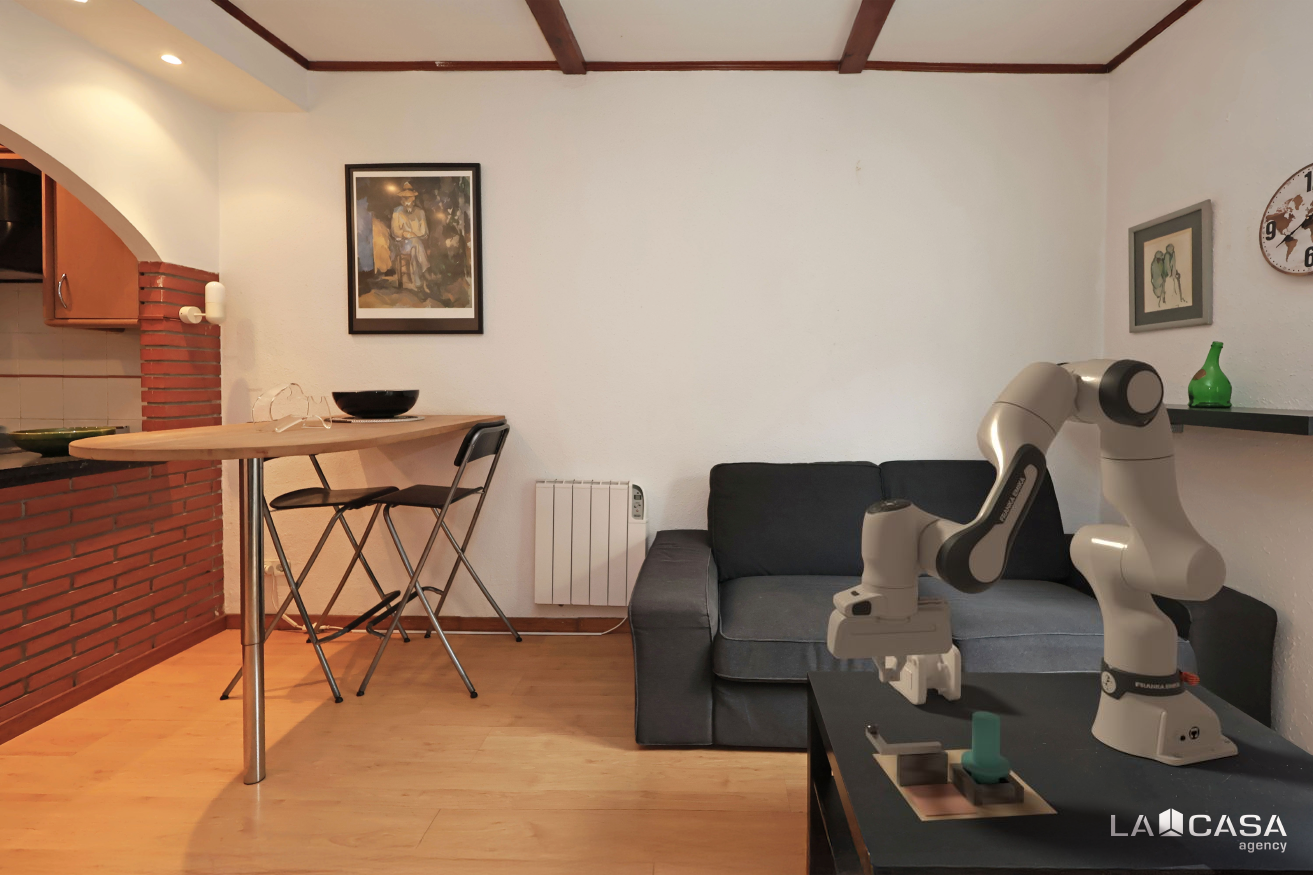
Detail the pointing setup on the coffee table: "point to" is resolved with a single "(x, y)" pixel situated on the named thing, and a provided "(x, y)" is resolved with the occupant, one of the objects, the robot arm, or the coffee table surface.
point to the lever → (899, 748)
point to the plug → (985, 750)
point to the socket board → (957, 788)
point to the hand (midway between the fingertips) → (889, 680)
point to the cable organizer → (929, 675)
